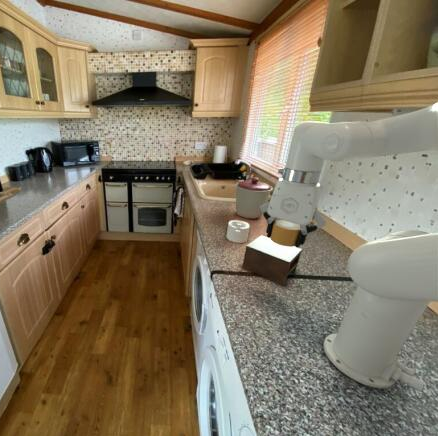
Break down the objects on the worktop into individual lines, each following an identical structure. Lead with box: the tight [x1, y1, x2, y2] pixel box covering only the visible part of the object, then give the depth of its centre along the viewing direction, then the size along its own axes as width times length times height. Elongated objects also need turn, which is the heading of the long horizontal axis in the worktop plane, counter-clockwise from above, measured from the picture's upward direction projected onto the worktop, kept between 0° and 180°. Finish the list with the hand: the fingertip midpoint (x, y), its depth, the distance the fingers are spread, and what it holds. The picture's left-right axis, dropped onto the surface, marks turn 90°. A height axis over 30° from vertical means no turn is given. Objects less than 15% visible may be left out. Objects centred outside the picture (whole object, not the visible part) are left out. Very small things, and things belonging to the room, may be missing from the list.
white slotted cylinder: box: [225, 219, 251, 244], centre depth 112 cm, size 20×9×7 cm, turn 157°
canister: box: [235, 176, 274, 220], centre depth 129 cm, size 18×18×21 cm
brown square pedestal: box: [241, 234, 303, 287], centre depth 85 cm, size 14×12×9 cm
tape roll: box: [270, 219, 301, 247], centre depth 65 cm, size 7×7×5 cm
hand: (283, 240), depth 66 cm, fingers closed on tape roll, 6 cm apart
